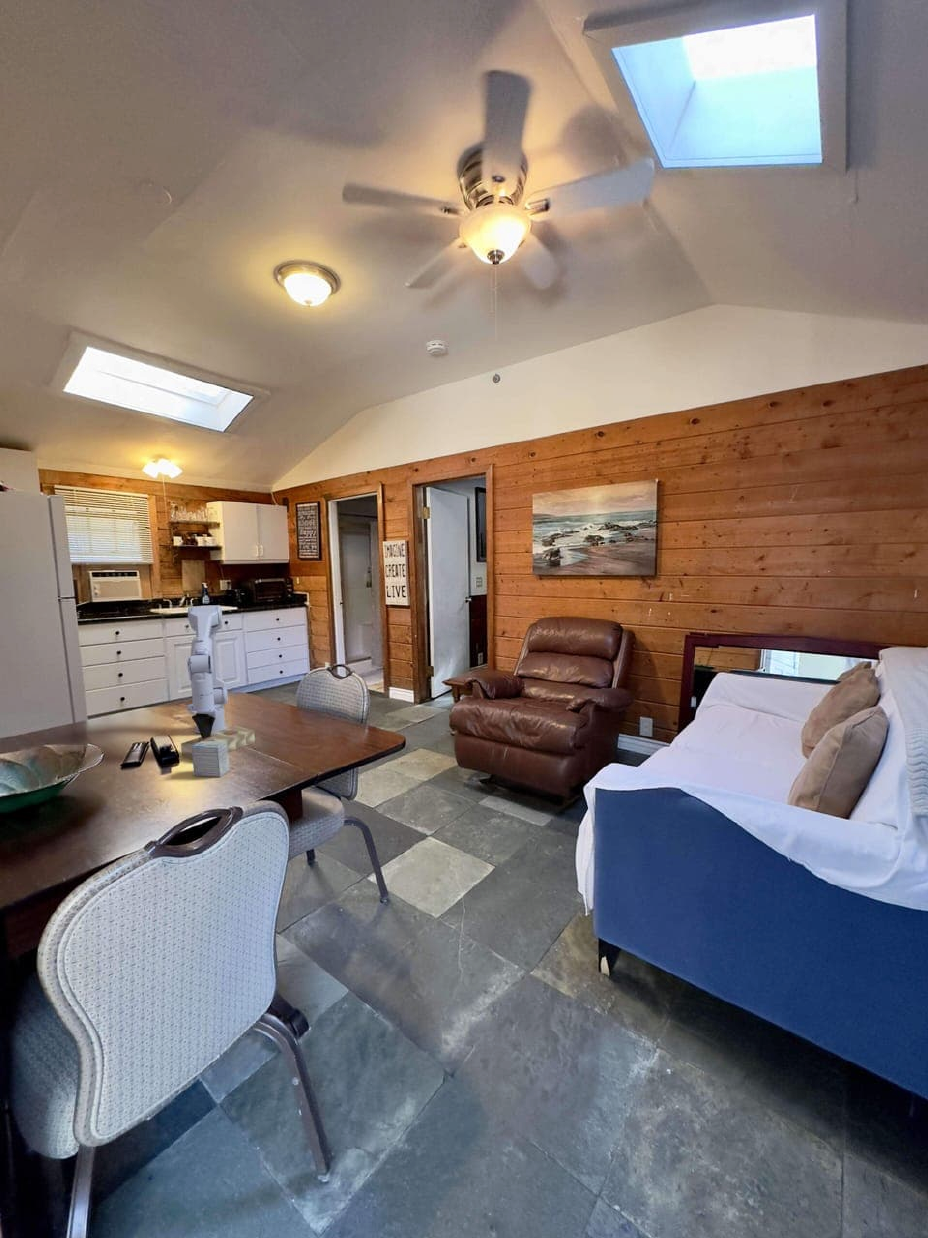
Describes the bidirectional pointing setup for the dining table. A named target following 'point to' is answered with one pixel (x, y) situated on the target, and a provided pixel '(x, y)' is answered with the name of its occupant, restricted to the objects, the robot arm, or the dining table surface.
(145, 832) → the dining table surface
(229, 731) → the far peg
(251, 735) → the socket board
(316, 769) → the dining table surface
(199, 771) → the medicine box
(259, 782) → the dining table surface
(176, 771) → the dining table surface
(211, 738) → the near peg
